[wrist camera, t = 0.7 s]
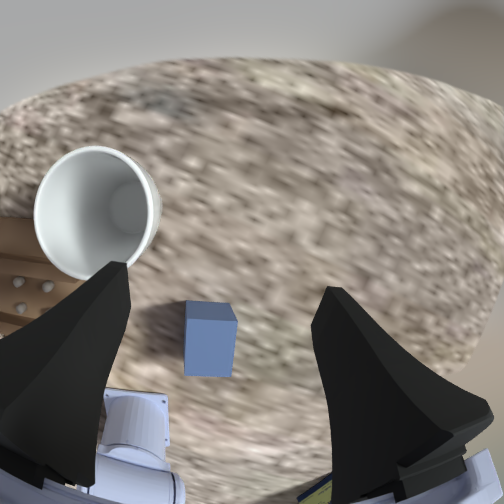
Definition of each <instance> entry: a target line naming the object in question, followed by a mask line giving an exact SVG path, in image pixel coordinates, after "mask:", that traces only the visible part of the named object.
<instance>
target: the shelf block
mask: <svg viewBox="0 0 504 504" xmlns="http://www.w3.org/2000/svg"><path fill="white" fill-rule="evenodd" d="M237 323H238V321H237V319H236V317H235V314H234V312H233V310H232V308H231V306H230V304H229V303H219V302H203V301H189V300H186V310H185V328H184V349H183V353H184V374H185V376H214V377H231V374H232V365H233V357H234V348H235V340H236V332H237Z"/></svg>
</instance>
